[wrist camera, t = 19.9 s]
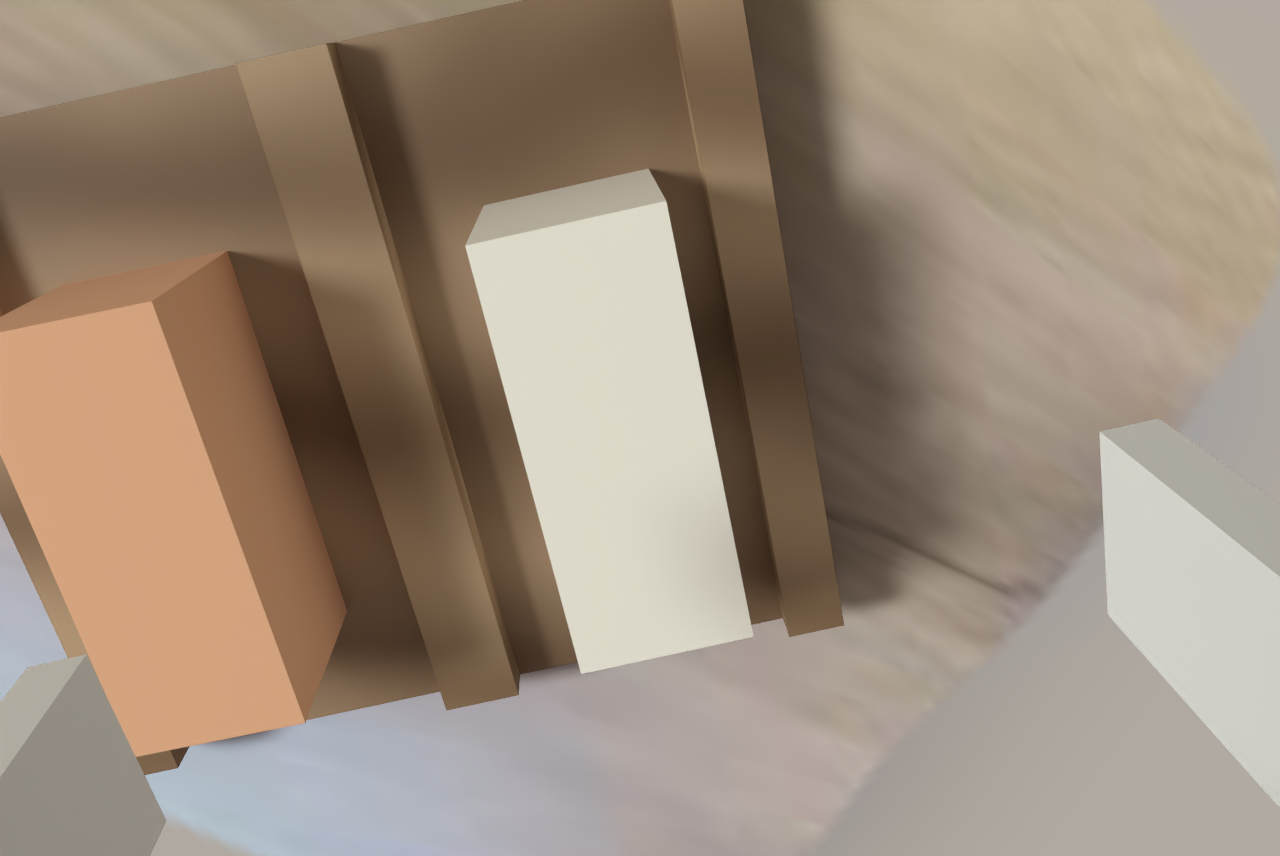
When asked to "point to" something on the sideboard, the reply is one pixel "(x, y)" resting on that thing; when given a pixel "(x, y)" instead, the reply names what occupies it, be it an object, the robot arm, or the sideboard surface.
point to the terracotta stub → (169, 501)
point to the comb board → (440, 300)
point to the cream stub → (611, 417)
